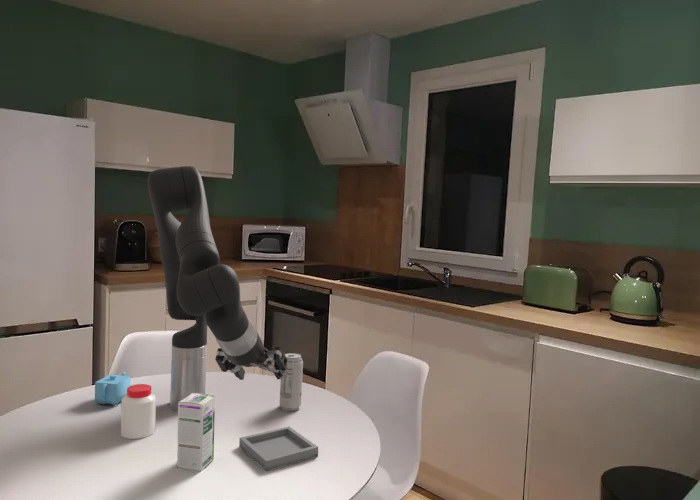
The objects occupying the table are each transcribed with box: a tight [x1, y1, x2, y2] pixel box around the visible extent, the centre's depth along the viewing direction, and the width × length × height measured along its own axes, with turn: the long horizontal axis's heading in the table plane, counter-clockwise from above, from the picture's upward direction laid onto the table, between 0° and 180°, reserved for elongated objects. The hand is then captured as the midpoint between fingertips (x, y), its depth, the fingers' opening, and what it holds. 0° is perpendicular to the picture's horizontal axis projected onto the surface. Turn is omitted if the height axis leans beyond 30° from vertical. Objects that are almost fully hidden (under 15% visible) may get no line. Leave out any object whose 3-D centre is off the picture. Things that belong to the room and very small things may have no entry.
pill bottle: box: [120, 383, 157, 440], centre depth 126 cm, size 8×8×11 cm
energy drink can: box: [279, 352, 304, 412], centre depth 147 cm, size 6×6×15 cm
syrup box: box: [176, 393, 216, 472], centre depth 112 cm, size 6×6×14 cm
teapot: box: [94, 371, 131, 407], centre depth 145 cm, size 12×6×8 cm, turn 173°
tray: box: [238, 426, 319, 472], centre depth 120 cm, size 13×13×2 cm
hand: (261, 375), depth 115 cm, fingers open, 8 cm apart
